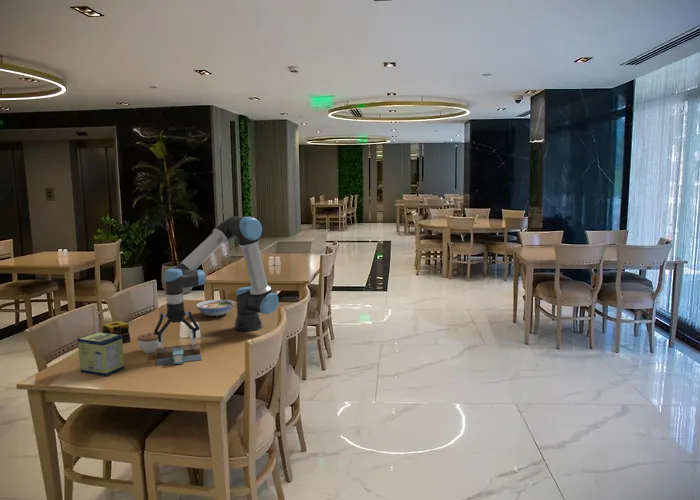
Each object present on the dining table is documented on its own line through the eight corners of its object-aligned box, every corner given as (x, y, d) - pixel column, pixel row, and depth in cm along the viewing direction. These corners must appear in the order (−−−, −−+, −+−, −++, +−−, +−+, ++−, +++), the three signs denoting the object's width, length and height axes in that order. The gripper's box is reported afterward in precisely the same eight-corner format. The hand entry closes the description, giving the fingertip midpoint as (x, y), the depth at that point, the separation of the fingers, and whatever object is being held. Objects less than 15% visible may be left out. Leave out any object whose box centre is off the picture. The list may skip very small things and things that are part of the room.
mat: (200, 354, 251) (200, 354, 251) (201, 360, 243) (201, 359, 243) (156, 360, 245) (155, 359, 244) (155, 365, 237) (155, 364, 237)
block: (183, 347, 247) (183, 353, 238) (183, 356, 247) (184, 363, 239) (172, 348, 245) (172, 354, 237) (173, 358, 246) (173, 364, 237)
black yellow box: (130, 342, 273) (129, 323, 272) (111, 346, 266) (109, 327, 265) (122, 338, 280) (120, 320, 279) (102, 343, 273) (101, 324, 272)
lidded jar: (166, 348, 261) (165, 330, 260) (151, 355, 251) (150, 336, 250) (148, 347, 264) (147, 328, 263) (133, 353, 254) (132, 334, 253)
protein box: (98, 364, 240) (95, 331, 238) (125, 368, 234) (122, 334, 232) (79, 372, 230) (76, 338, 228) (106, 377, 224) (103, 341, 222)
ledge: (199, 349, 259) (199, 343, 259) (200, 354, 252) (200, 348, 251) (156, 354, 253) (156, 348, 253) (156, 359, 245) (155, 353, 245)
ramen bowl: (193, 313, 332) (193, 300, 331) (230, 308, 341) (229, 296, 340) (200, 322, 309) (199, 308, 308) (239, 317, 319) (238, 304, 318)
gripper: (202, 298, 252) (204, 341, 254) (146, 303, 244) (149, 347, 247) (203, 301, 245) (205, 345, 247) (146, 306, 237) (149, 352, 240)
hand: (177, 346), depth 247 cm, fingers open, 13 cm apart
